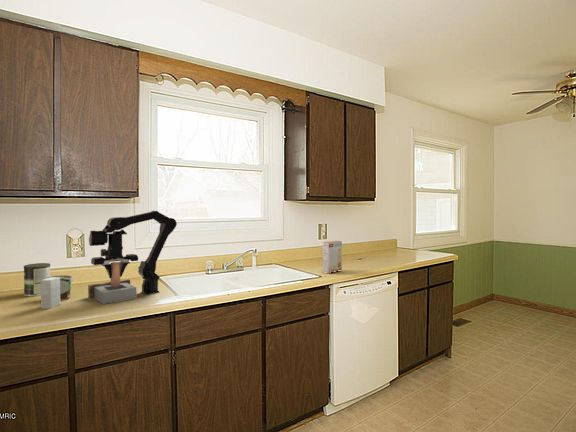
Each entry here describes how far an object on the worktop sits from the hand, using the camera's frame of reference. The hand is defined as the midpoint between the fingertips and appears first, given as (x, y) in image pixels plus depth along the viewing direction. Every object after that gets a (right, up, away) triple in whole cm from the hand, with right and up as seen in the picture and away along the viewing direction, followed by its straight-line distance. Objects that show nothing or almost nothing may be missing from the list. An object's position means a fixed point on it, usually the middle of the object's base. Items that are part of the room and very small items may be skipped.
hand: (115, 277), depth 151 cm
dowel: (0, -4, 0) cm, 4 cm away
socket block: (0, -10, 0) cm, 10 cm away
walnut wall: (-6, -9, +6) cm, 12 cm away
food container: (-25, -10, 0) cm, 27 cm away
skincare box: (-20, -10, -14) cm, 26 cm away
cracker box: (+111, -10, +69) cm, 131 cm away
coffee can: (-41, -9, +6) cm, 43 cm away
